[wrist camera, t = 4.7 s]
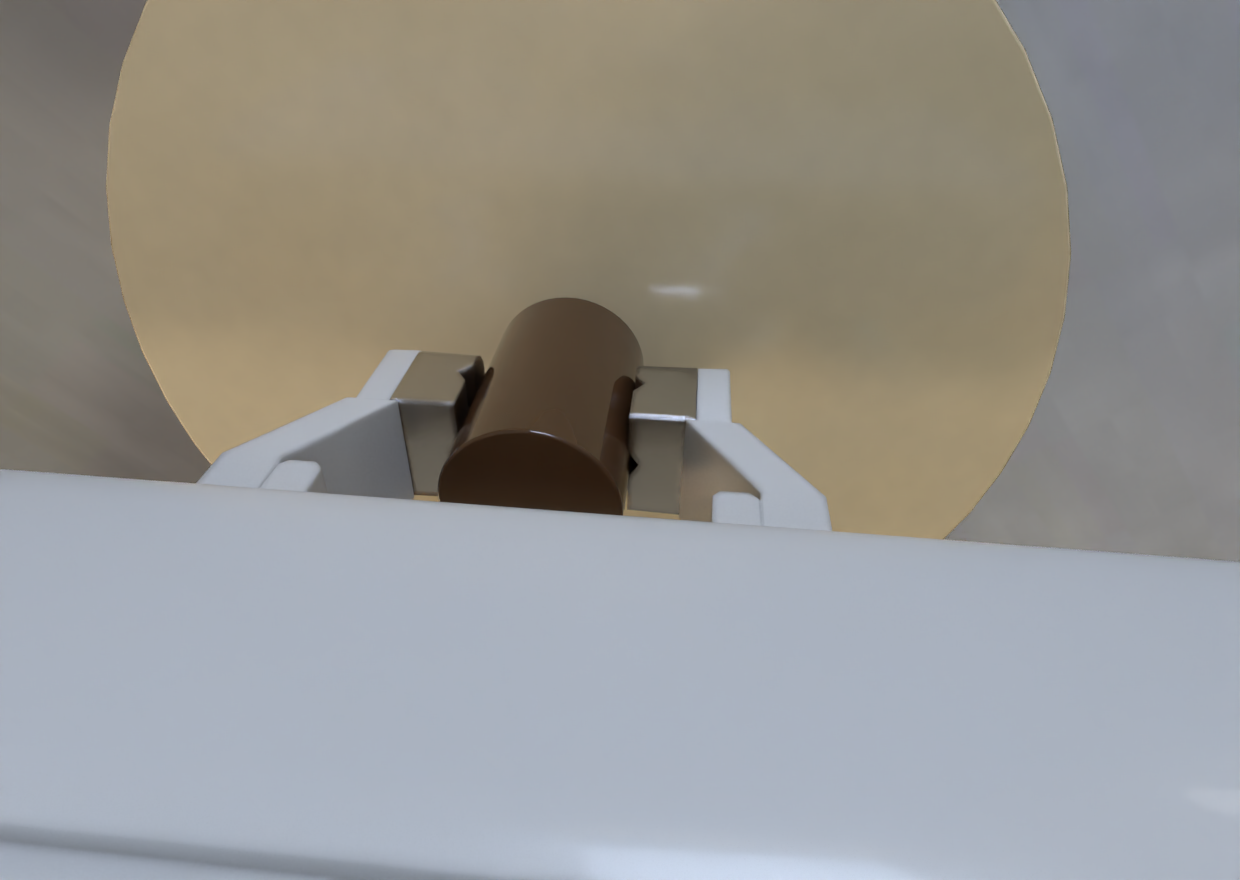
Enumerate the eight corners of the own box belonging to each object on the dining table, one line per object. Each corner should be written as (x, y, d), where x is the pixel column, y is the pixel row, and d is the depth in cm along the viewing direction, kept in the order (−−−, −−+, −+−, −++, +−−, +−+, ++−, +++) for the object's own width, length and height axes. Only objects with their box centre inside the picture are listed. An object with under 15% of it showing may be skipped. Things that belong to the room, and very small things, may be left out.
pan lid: (659, -651, 8) (606, -1186, 4) (1192, 418, 15) (1377, 627, 11) (-16, 252, 15) (-288, 392, 11) (549, 704, 22) (511, 898, 18)
